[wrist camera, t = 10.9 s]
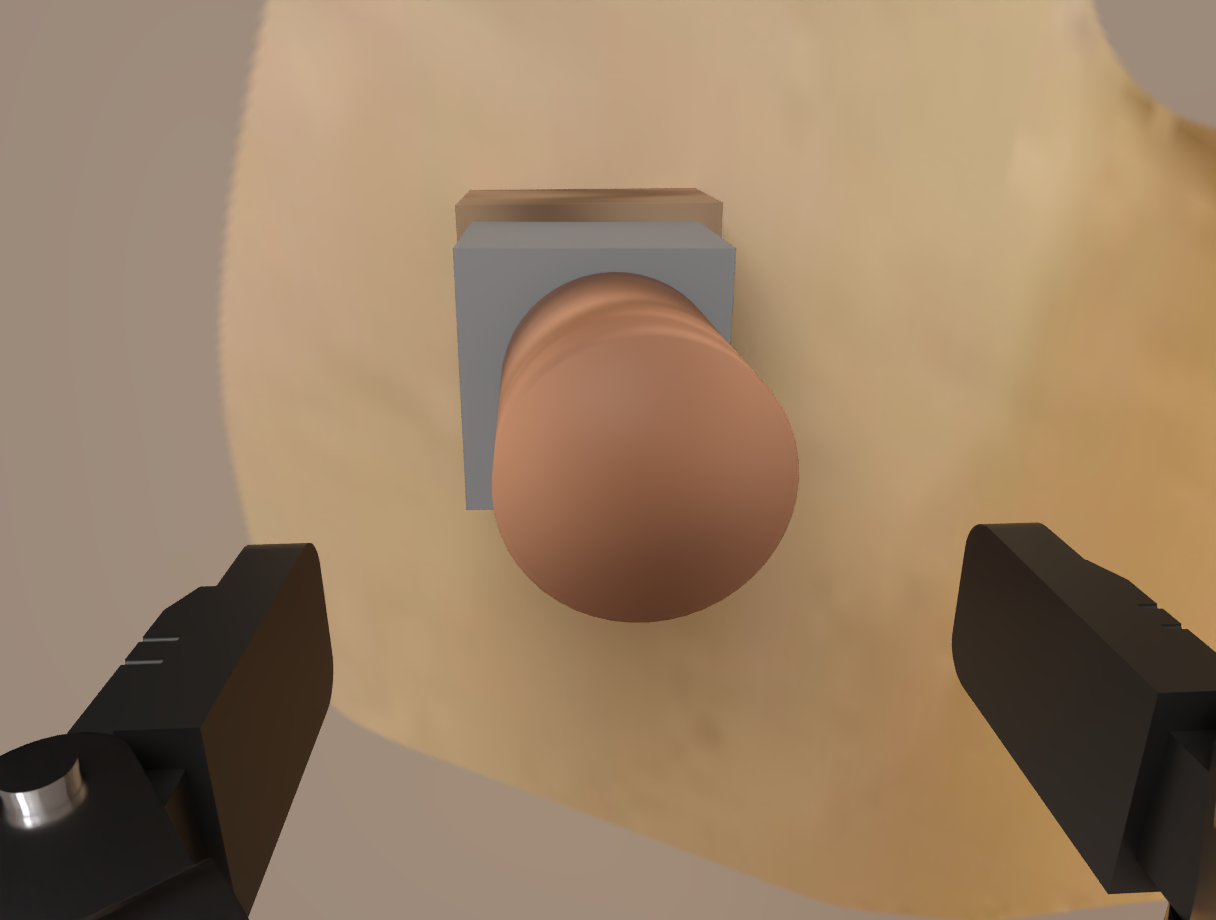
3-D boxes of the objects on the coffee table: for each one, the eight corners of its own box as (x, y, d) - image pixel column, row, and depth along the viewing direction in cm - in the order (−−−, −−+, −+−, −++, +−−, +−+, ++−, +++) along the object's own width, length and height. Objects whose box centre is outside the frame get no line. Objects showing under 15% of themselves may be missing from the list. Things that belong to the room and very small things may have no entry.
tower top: (699, 221, 24) (736, 248, 19) (690, 435, 26) (721, 505, 22) (471, 221, 24) (453, 248, 19) (481, 438, 26) (466, 510, 21)
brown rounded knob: (726, 267, 20) (806, 328, 14) (722, 482, 21) (791, 612, 16) (493, 276, 19) (480, 343, 14) (508, 494, 21) (502, 631, 15)
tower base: (694, 187, 29) (723, 202, 24) (688, 400, 31) (713, 451, 26) (470, 189, 28) (455, 205, 24) (482, 405, 31) (470, 457, 26)
